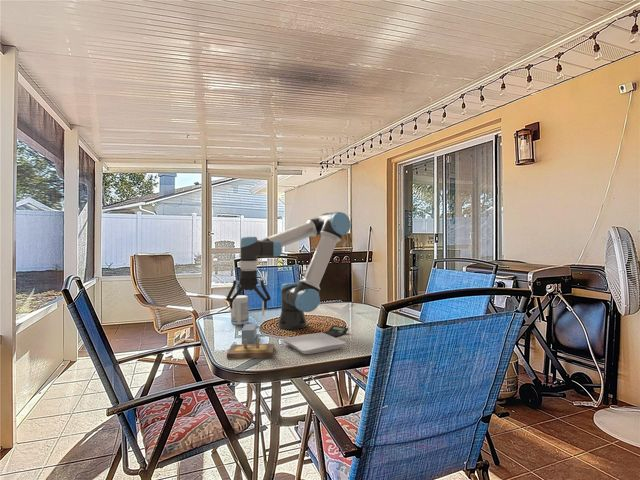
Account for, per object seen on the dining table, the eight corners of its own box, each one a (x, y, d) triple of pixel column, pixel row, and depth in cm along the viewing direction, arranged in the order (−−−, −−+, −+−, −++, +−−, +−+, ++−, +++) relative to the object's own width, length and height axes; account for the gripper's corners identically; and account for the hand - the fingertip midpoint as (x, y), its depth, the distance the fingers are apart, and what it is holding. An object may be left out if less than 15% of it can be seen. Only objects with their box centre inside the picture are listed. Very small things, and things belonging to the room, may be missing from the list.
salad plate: (281, 345, 168) (281, 337, 168) (322, 338, 178) (322, 331, 178) (302, 359, 149) (302, 350, 149) (347, 350, 160) (347, 342, 160)
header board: (274, 348, 162) (274, 334, 162) (272, 357, 150) (272, 343, 150) (231, 349, 161) (231, 336, 161) (226, 358, 149) (226, 344, 149)
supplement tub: (248, 320, 214) (248, 294, 214) (249, 324, 205) (248, 297, 205) (230, 321, 212) (230, 295, 212) (230, 325, 203) (230, 298, 203)
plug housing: (245, 336, 181) (244, 324, 181) (256, 336, 182) (256, 323, 181) (241, 343, 169) (241, 330, 169) (254, 343, 170) (254, 330, 169)
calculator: (318, 335, 183) (318, 329, 183) (333, 330, 192) (333, 325, 192) (333, 339, 177) (333, 332, 177) (348, 333, 186) (348, 327, 186)
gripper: (276, 269, 179) (275, 313, 180) (222, 269, 178) (222, 314, 178) (275, 270, 172) (275, 317, 172) (219, 270, 170) (219, 317, 170)
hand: (248, 315), depth 175 cm, fingers open, 13 cm apart
